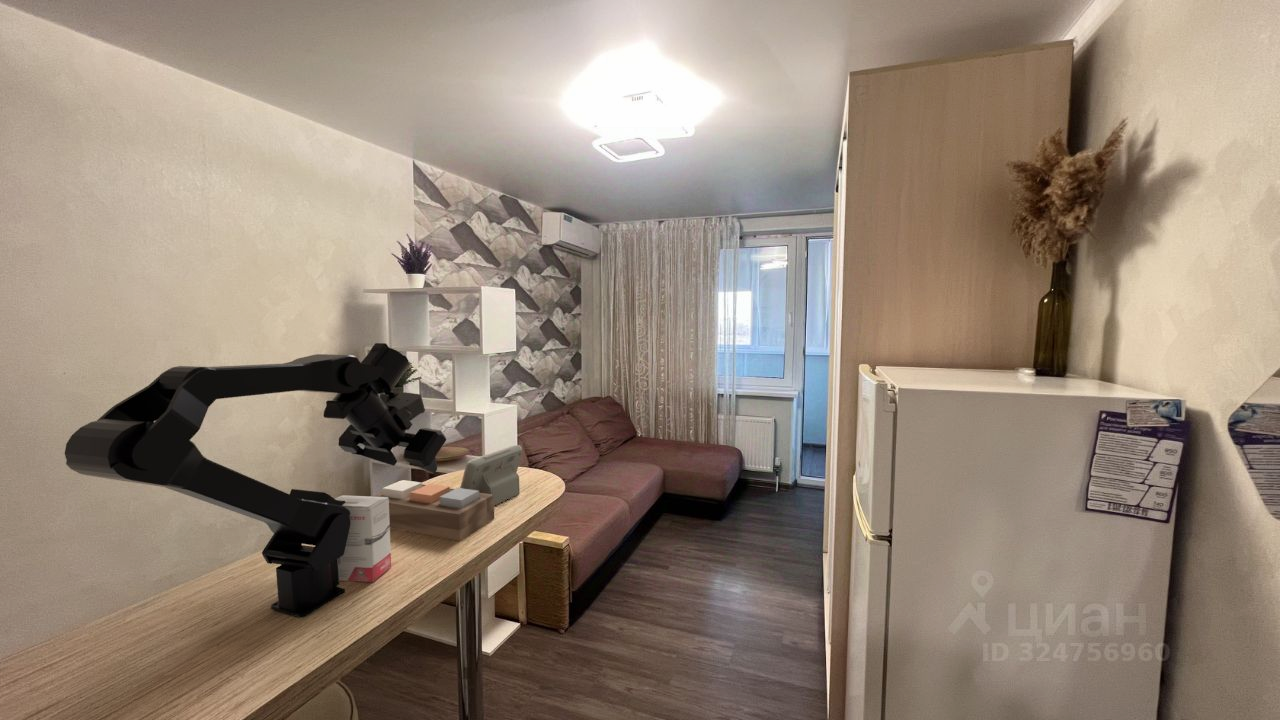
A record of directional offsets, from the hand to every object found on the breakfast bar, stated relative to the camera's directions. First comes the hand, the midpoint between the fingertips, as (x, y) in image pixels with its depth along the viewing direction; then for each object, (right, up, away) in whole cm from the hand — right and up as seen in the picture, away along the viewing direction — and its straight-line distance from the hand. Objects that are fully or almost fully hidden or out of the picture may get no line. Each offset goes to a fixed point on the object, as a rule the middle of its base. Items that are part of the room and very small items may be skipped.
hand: (414, 467), depth 89 cm
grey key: (+7, -9, +3) cm, 12 cm away
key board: (+1, -12, +6) cm, 13 cm away
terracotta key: (+1, -8, +5) cm, 10 cm away
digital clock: (+9, -11, +18) cm, 23 cm away
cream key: (-6, -8, +8) cm, 13 cm away
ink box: (-3, -14, -13) cm, 19 cm away
